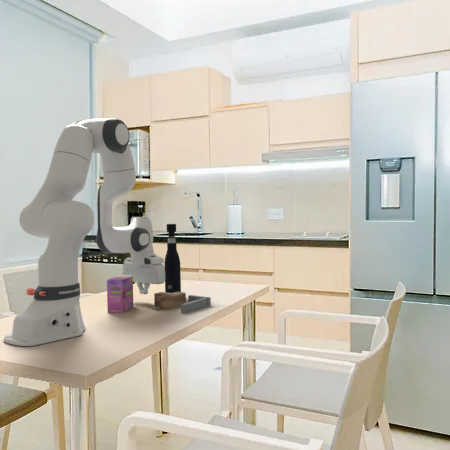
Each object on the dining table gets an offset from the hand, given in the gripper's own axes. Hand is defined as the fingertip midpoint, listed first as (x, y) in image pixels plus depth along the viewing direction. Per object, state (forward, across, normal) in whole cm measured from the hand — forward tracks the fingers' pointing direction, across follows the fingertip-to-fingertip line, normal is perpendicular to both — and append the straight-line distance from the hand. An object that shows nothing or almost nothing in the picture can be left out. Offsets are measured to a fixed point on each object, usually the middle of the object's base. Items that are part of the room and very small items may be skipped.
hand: (143, 293), depth 175 cm
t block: (+3, +12, 0) cm, 13 cm away
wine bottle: (+4, +4, +13) cm, 14 cm away
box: (+3, +2, -13) cm, 14 cm away
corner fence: (+3, +22, +1) cm, 22 cm away
